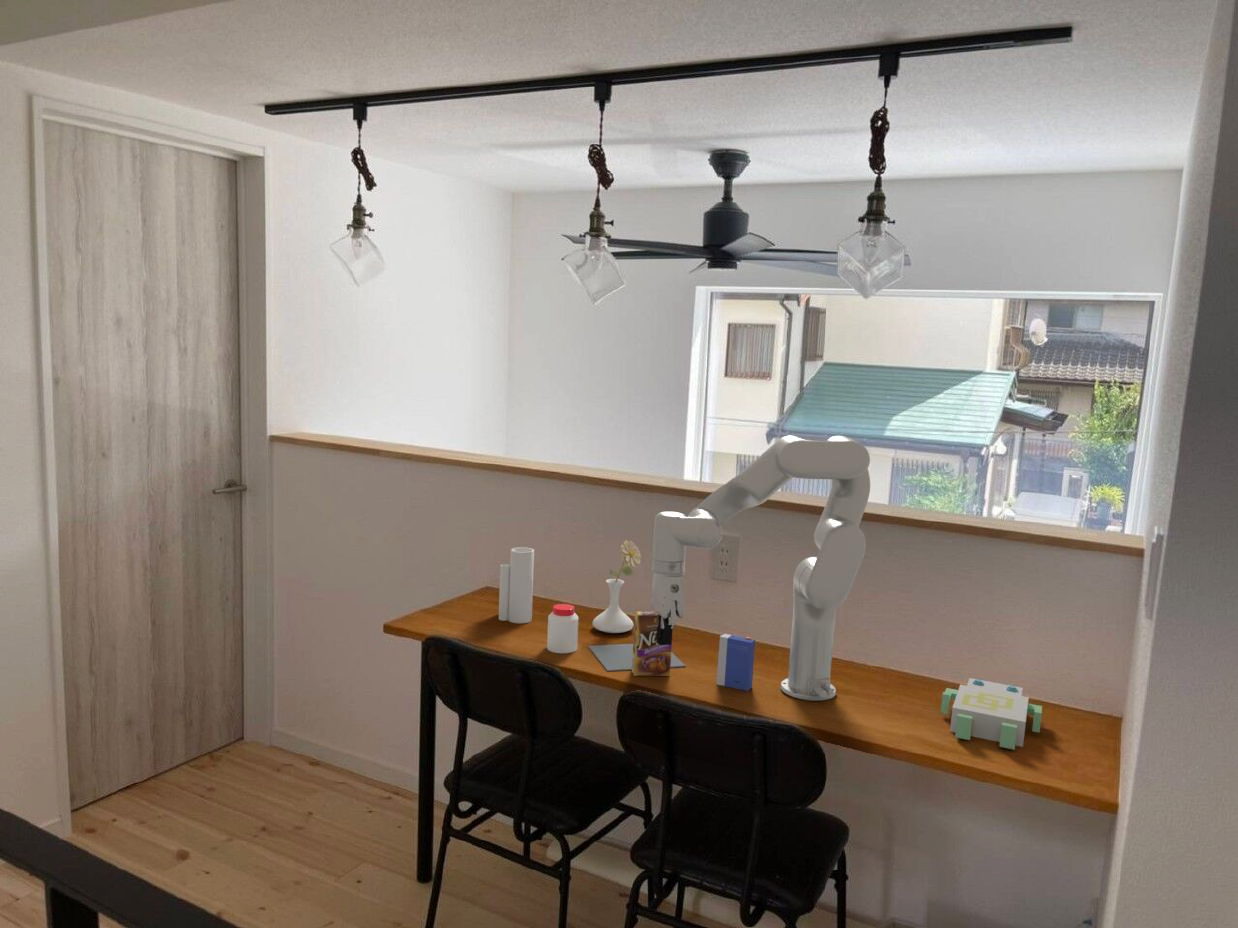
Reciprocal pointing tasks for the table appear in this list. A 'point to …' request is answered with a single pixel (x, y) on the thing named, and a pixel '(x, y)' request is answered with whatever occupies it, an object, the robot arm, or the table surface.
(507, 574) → the vase
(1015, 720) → the decorative block
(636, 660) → the candy box
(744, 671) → the walkman
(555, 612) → the pill bottle
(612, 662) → the mat
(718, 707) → the table surface
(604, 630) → the flower in vase
